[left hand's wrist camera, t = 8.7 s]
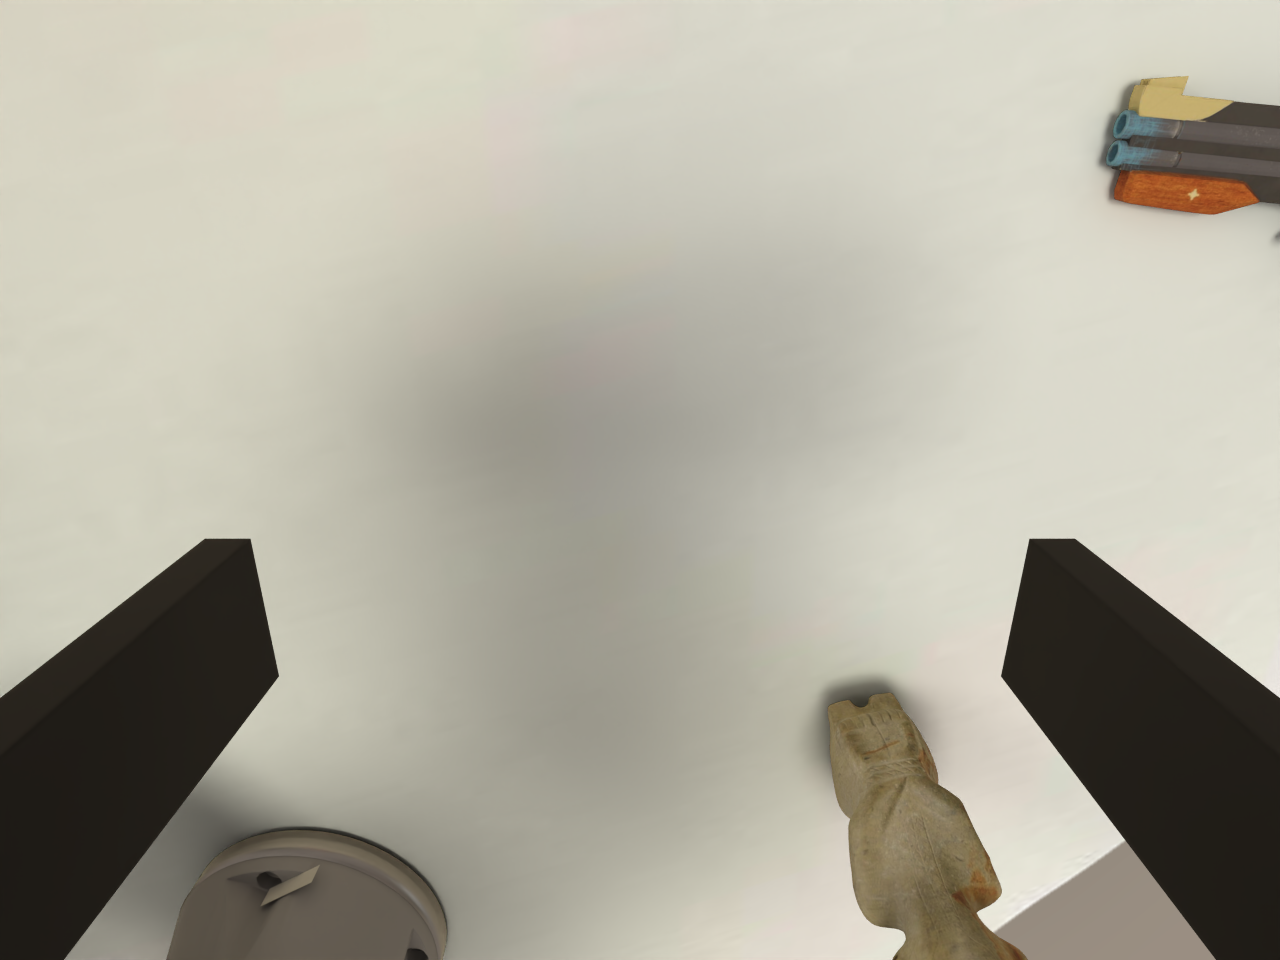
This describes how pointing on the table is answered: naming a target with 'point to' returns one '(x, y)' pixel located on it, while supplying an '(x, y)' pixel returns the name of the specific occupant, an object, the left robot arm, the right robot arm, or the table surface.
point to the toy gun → (1194, 150)
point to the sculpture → (910, 838)
